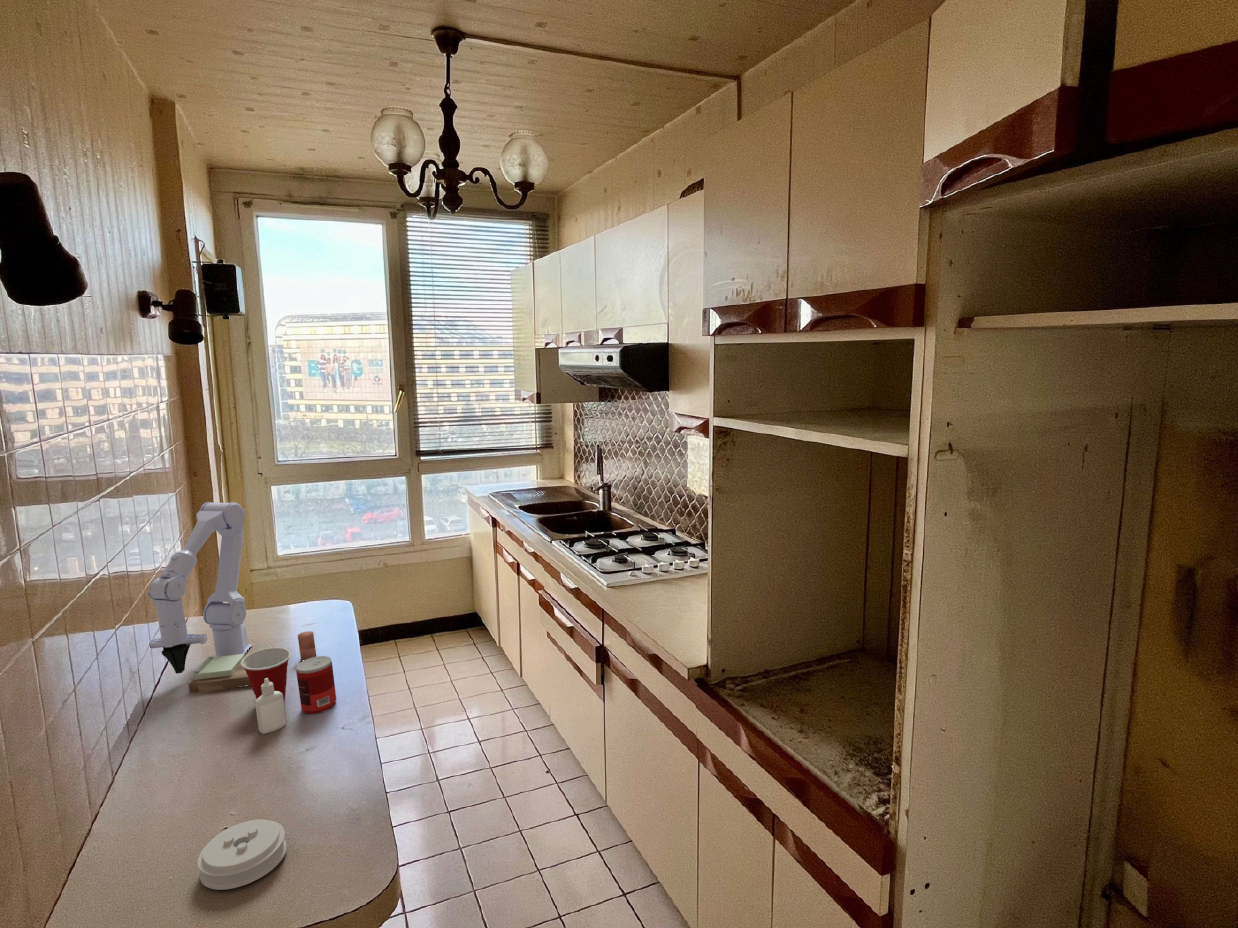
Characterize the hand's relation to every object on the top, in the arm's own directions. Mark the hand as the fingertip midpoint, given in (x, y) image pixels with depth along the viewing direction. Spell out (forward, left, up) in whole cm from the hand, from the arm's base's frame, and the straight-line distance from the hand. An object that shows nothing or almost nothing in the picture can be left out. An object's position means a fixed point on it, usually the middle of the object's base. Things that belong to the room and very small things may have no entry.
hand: (180, 671), depth 181 cm
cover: (0, +10, -1) cm, 10 cm away
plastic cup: (+18, +28, -3) cm, 33 cm away
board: (0, +14, -3) cm, 14 cm away
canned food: (+23, +40, -3) cm, 46 cm away
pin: (-7, +30, -3) cm, 31 cm away
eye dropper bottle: (+31, +32, -3) cm, 44 cm away
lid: (+76, +41, -4) cm, 86 cm away
